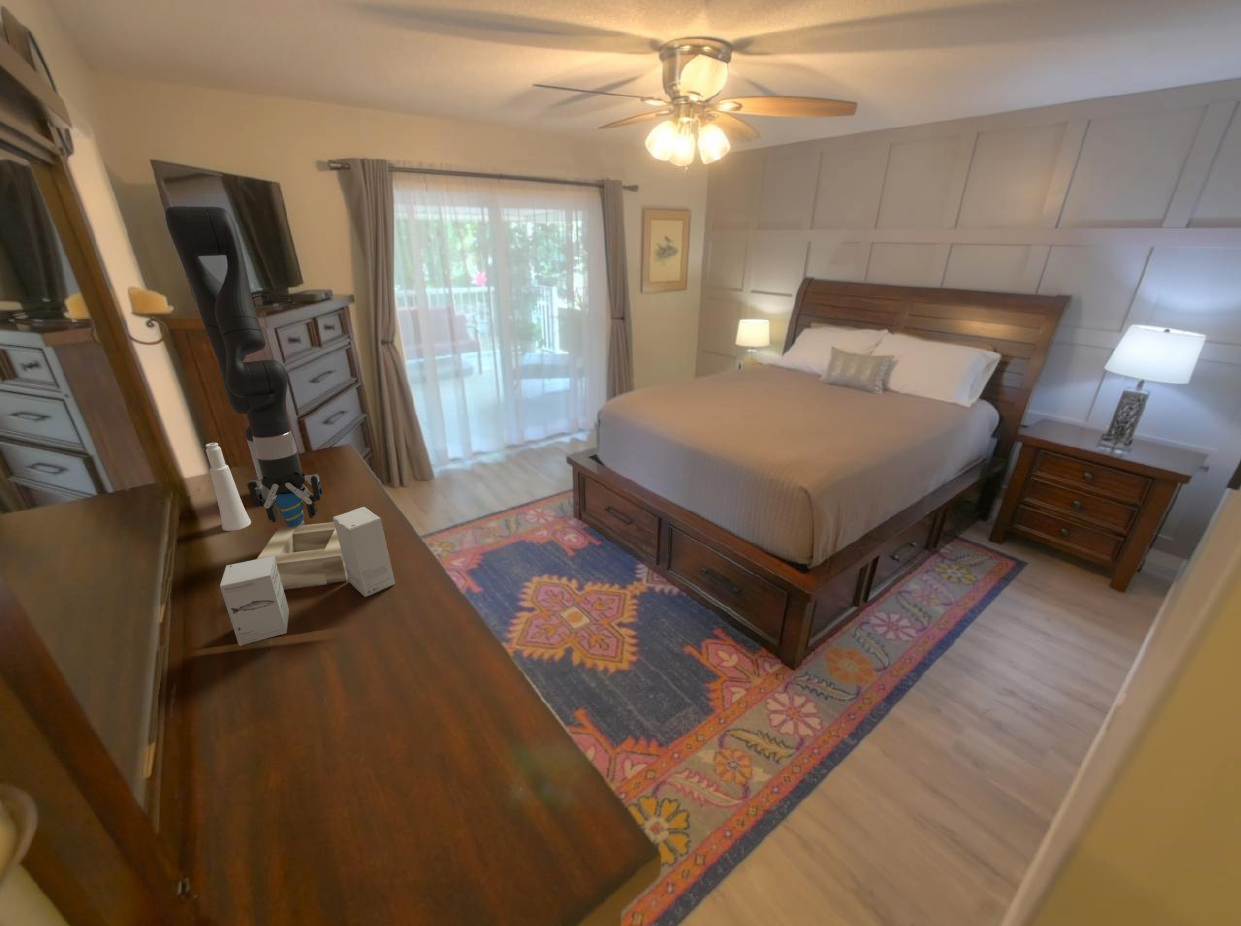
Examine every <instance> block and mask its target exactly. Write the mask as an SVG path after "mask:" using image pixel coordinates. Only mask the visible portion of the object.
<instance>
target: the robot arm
mask: <svg viewBox="0 0 1241 926" xmlns="http://www.w3.org/2000/svg"><path fill="white" fill-rule="evenodd" d="M164 216H165V221H166V226H167V229H168V231H169V235H170V236H171V240H172V242H173V245H174V247H175V248H176V249H175V250H176V252H177V253H178V256H179V260H180V261H181V263H182V264H181V265H183V268H184V270H185V273H186V276H187V278H188V280H189V282H190V286H191V288H192V292H193V295H194V298H195V301H196V304H197V308H198V311H199V314H200V316H201V321H202V323H203V326H204V329H205V332H206V334H207V337H208V339H209V342H210V345H211V347H212V349H213V352H214V355H215V358H216V359H217V362H218V366H219V370H220V374H221V378H222V381H223V384H224V389H225V393H226V396H227V399H228V402H229V405H230V407H231V409H232V410H233V412H235V413H236V414H237V415H246V417H247V420H248V421H247V422H248V424H249V426H247V427H246V428H245V429H244V432H245V434H244V435H245V437H246V441H247V444H248V447H249V452H250V454H251V458H252V462H253V465H254V468H255V472H256V476H257V478H254V477H253V478H252V479H251V480H250V481H248V483H247V485H246V486H247V489H248V491H249V494H250V497H251V501H252V503H253V505H254V507H256V508H259V507H263V508H265V511H266V514H267V518H268V520H269V521H272V523H277V522H278V521H279V519H280V517H279V513H278V508H277V504H275V502H276V496H277V495H278V494H288V493H294V494H296V495H297V496H298V497H299V498H302V499H301V500H302V501H303V502H304V503H306V504H305V505H306V510H307V515H308V517H309V519H314V518H315V516H316V515H317V513H318V508H317V503H316V502H319V501H320V500H321V499H322V497H323V495H324V493H323V487H322V483H321V477H320V474H319V473H318V472H314V473H313V474H305V473H304V472H303V471H302V464H301V462H300V461H301V460H300V457H299V453H298V448H297V444H296V441H295V438H294V436H293V433H292V430H291V427H290V422H289V418H288V413H287V412H288V411H287V392H288V391H287V390H288V383H289V382H288V380H289V377H288V373H287V372H288V371H287V370H286V368H285V366H284V365H283V364H282V363H281V362H280V361H278V360H275V359H263V360H253V361H245V359H246V357H247V355H250V354H254V353H258V352H260V351H262V350H263V349H265V347H266V338H265V336H264V333H263V331H262V327H261V324H260V321H259V318H258V315H257V312H256V308H255V304H254V300H253V296H252V292H251V286H250V280H249V275H248V271H247V265H246V262H245V257H244V252H243V249H242V244H241V241H240V235H239V232H238V230H237V226H236V224H235V222H234V219H233V217H232V215H231V214H230V212H229V211H228V210H227V209H225V208H223V207H218V206H186V205H185V206H181V205H178V206H169V207H167V208H166V209H165V215H164ZM213 256H225V257H226V262H227V266H226V267H227V268H226V274H225V276H224V280H223V283H222V282H221V281H219V280H218V279H217V278H216V277H215V276H214V275H213V274H212V273H211V272H210V270H209V269H208V268H207V267H206V265H204V263H203V262H202V260H201V258H200V257H213ZM305 482H307V483H308V485H311V488H312V492H311V491H309V490H310V489H309V488H308V487H307V486H306V485H305Z"/></svg>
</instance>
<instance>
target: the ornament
mask: <svg viewBox="0 0 1241 926" xmlns="http://www.w3.org/2000/svg"><path fill="white" fill-rule="evenodd" d="M275 503H276V504H275V505H276V507H278V508H279V511H280V512H279V513H280V515H281V516H282V518H283V519H284V522H285V524H286V527H292V526H301V525H306V523H305V521H304V515H305V514H304V500H303V499H302V498H299V497H298V496H297V495H296V494H294V493H288V494H278V495H277V496H276V501H275Z"/></svg>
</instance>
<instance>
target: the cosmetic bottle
mask: <svg viewBox="0 0 1241 926" xmlns="http://www.w3.org/2000/svg"><path fill="white" fill-rule="evenodd" d="M205 447H206V449H205V451H206V454H207V458H208V461H209V464H210V465H209V466H210V468H209V473H210V477H211V482H212V485H213V489H214V492H215V495H216V500H217V501H216V502H217V504H218V509H219V514H220V520H221V529H222V530H223V531H226V532H232V531H238V530H242V529H245V528H246V527H249V526H250V525H251V523H252V520H251V519H250V517H249V515H248V513H247V511H246V508H245V507H244V504H243V501H242V499H241V497H240V494H239V491H238V488H237V485H236V483H235V480H234V478H233V475H232V472H231V469H230V467H229V465H228V464H226V461H225V458H224V455H223V452H222V448H221V447H220V446H219V443H218V442H210V443H207V444H205Z"/></svg>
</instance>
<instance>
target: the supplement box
mask: <svg viewBox="0 0 1241 926" xmlns="http://www.w3.org/2000/svg"><path fill="white" fill-rule="evenodd" d="M219 585H220V586H219V587H220V591H221V594H222V598H223V600H224V604H225V607H226V610H227V613H228V616H229V619H230V622H231V625H232V628H233V631H234V634H235V636H236V640H237V644H238V646H240V647H241V646H244V645H247V644H250V643H251V644H252V643H254V642H257V641H261V640H262V641H263V640H265V639H269V638H272V637H277V636H280V635H286V634H287V632H288V624H289V615H290V609H289V606H288V601H287V597H286V594H285V590H284V589H283V586H282V582H281V579H280V575H279V571H278V568H277V564H276V559H275V556H270V557H266V558H261V559H257V558H256V559H252V560H246V561H242V562H237V563H233V564H226V565H225V568H224V572H223V575H222V579H221V582H220V584H219Z"/></svg>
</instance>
